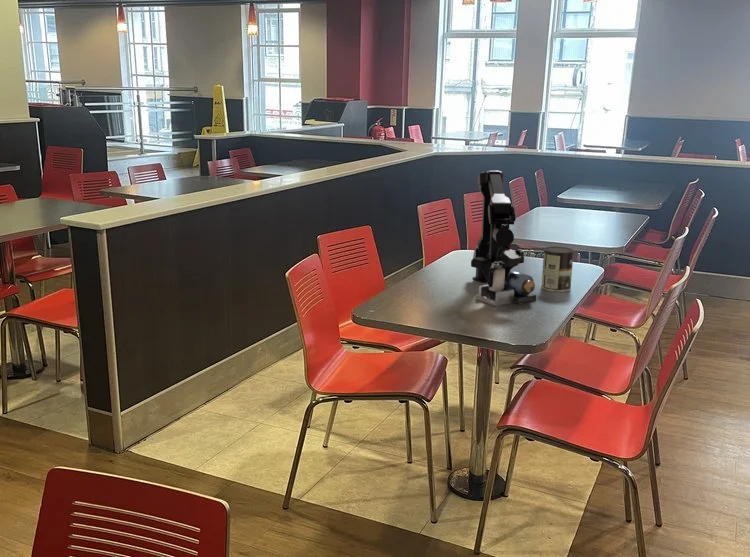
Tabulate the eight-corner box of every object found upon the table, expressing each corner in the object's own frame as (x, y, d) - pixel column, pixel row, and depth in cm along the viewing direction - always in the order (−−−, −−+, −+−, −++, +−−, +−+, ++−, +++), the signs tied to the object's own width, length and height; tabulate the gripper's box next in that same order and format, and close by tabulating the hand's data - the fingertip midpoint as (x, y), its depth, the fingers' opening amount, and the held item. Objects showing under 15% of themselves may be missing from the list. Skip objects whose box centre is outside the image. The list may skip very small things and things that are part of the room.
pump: (485, 288, 231) (486, 264, 229) (496, 286, 234) (498, 262, 232) (495, 292, 227) (497, 268, 225) (507, 290, 230) (508, 266, 228)
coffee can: (569, 285, 250) (572, 247, 247) (571, 293, 241) (575, 253, 237) (540, 283, 252) (543, 245, 249) (541, 291, 243) (544, 251, 239)
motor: (471, 297, 235) (472, 271, 232) (506, 290, 243) (508, 265, 241) (502, 308, 223) (503, 281, 220) (538, 301, 231) (539, 275, 229)
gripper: (494, 247, 215) (491, 296, 219) (537, 241, 225) (534, 287, 229) (470, 241, 224) (468, 287, 228) (513, 235, 234) (510, 279, 238)
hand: (496, 285), depth 230 cm, fingers closed on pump, 5 cm apart
